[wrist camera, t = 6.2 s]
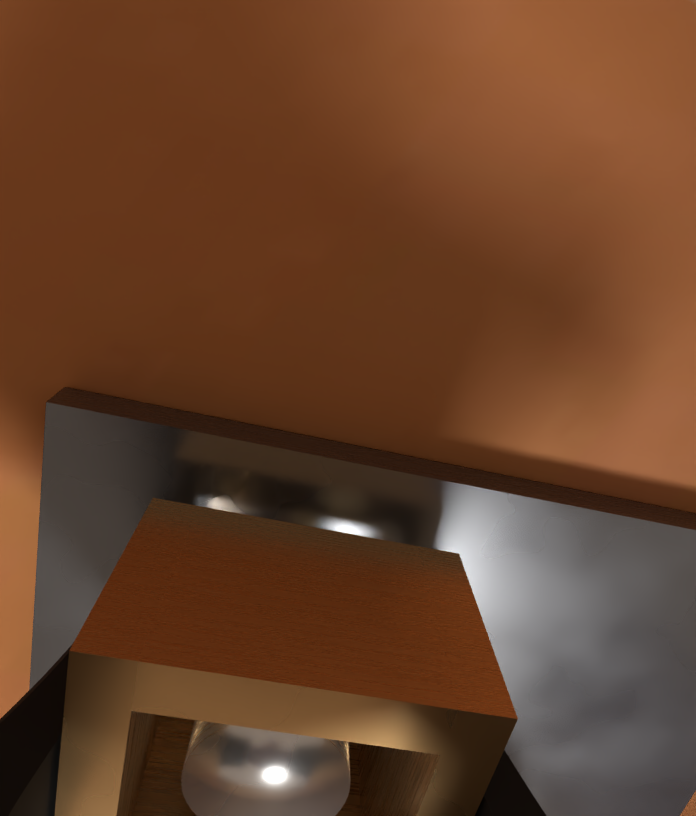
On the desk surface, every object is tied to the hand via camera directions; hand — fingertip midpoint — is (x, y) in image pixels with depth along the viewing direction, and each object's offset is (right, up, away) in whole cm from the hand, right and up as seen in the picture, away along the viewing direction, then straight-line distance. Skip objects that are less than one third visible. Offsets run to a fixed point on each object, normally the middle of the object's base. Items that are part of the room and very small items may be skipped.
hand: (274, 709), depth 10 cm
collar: (0, +1, +1) cm, 1 cm away
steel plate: (+2, -1, +4) cm, 4 cm away
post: (0, +1, +3) cm, 3 cm away
